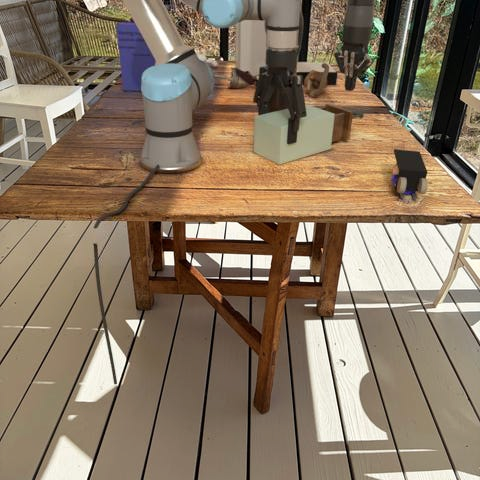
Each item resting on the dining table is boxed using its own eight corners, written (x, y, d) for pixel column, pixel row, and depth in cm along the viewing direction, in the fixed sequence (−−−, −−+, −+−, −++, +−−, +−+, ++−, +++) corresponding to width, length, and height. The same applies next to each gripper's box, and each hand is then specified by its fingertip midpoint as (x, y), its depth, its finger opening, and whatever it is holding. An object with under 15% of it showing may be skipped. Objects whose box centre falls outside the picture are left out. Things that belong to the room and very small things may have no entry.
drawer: (338, 126, 147) (341, 100, 142) (363, 135, 140) (367, 108, 136) (281, 142, 135) (282, 114, 130) (304, 152, 128) (306, 123, 124)
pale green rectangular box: (304, 138, 140) (306, 104, 135) (330, 149, 133) (334, 113, 128) (253, 152, 131) (254, 116, 126) (279, 164, 123) (281, 126, 118)
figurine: (210, 87, 179) (288, 95, 182) (212, 65, 176) (291, 73, 180) (208, 84, 201) (278, 91, 205) (210, 64, 198) (280, 71, 202)
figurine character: (424, 210, 105) (414, 176, 117) (433, 180, 100) (421, 147, 112) (393, 207, 106) (386, 174, 118) (400, 178, 101) (392, 146, 113)
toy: (173, 75, 210) (172, 58, 207) (149, 64, 228) (148, 49, 224) (220, 69, 222) (220, 53, 218) (194, 59, 239) (193, 45, 236)
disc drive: (294, 84, 198) (295, 72, 195) (288, 72, 217) (289, 61, 215) (336, 84, 198) (337, 72, 196) (326, 73, 218) (327, 61, 215)
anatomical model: (314, 99, 193) (314, 101, 179) (299, 84, 192) (297, 84, 178) (337, 75, 188) (338, 74, 174) (321, 59, 188) (321, 57, 173)
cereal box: (169, 88, 189) (165, 22, 177) (167, 91, 185) (163, 24, 172) (126, 87, 190) (119, 21, 177) (123, 90, 186) (115, 23, 173)
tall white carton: (273, 76, 210) (276, 6, 196) (239, 77, 209) (240, 6, 194) (266, 67, 226) (268, 2, 212) (235, 67, 225) (235, 1, 210)
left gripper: (327, 54, 109) (318, 146, 120) (263, 40, 125) (260, 123, 136) (303, 57, 105) (296, 152, 116) (240, 43, 121) (239, 127, 132)
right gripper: (387, 25, 124) (376, 93, 133) (349, 20, 133) (341, 83, 142) (368, 27, 120) (358, 97, 129) (330, 21, 129) (323, 87, 138)
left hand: (277, 136), depth 126 cm, fingers closed on pale green rectangular box, 11 cm apart
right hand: (349, 90), depth 135 cm, fingers closed
